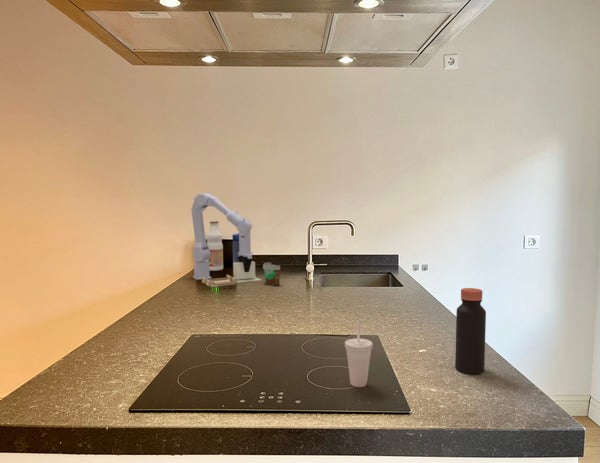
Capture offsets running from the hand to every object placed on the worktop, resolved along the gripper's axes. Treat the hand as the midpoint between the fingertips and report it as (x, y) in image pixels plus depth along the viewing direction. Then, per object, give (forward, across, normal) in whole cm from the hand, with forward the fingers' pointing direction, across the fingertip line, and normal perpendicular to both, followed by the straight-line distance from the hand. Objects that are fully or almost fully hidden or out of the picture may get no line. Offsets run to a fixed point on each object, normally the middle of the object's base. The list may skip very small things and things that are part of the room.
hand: (245, 271), depth 232 cm
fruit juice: (+5, +39, +4) cm, 39 cm away
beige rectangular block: (+3, 0, 0) cm, 4 cm away
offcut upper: (+4, -8, +14) cm, 17 cm away
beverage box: (+5, +16, -4) cm, 17 cm away
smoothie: (+5, -132, +22) cm, 134 cm away
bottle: (+5, -138, -7) cm, 138 cm away
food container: (+5, -17, -6) cm, 19 cm away
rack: (+4, -4, +15) cm, 16 cm away
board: (+4, 0, 0) cm, 4 cm away
